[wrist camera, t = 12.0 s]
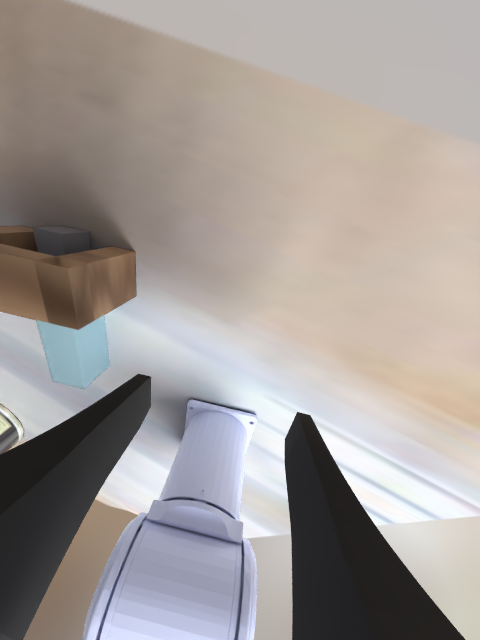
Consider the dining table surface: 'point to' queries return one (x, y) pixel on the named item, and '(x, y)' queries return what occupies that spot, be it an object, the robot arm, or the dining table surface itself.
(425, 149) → the dining table surface
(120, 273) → the brown block
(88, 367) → the light blue pillar
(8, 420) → the coffee can
